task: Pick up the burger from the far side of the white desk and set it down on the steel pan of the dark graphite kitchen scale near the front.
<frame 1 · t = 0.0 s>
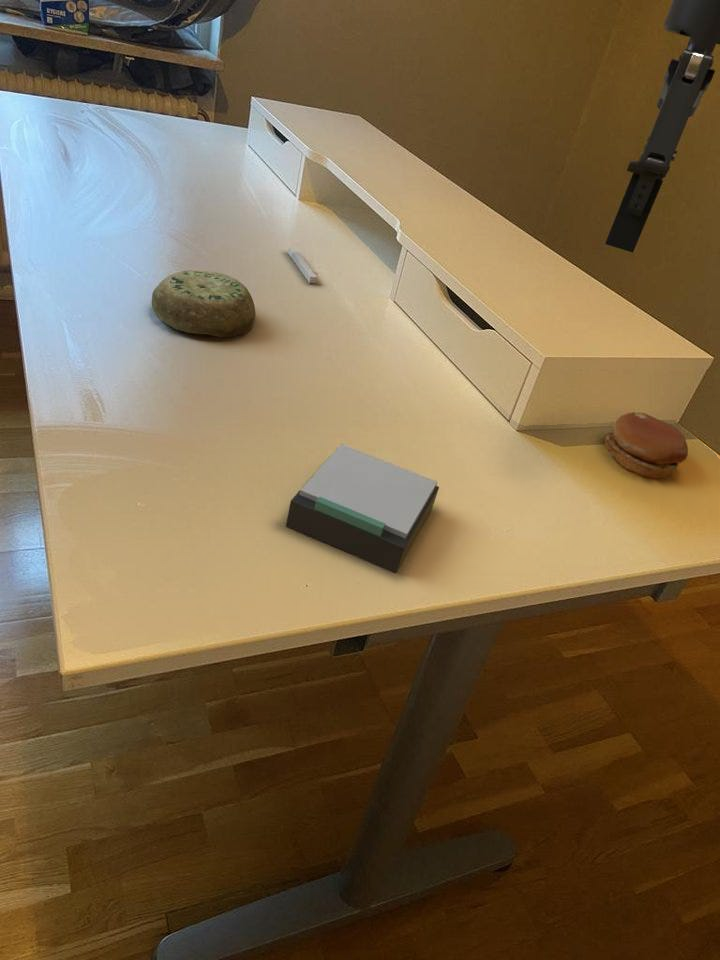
hand: (624, 233, 76), 26 cm above the table, tool pointing down, fingers open, 13 cm apart
light grey bar: (301, 269, 122), on the table
scale: (362, 518, 71), on the table
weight: (203, 320, 99), on the table
burger: (637, 458, 93), on the table
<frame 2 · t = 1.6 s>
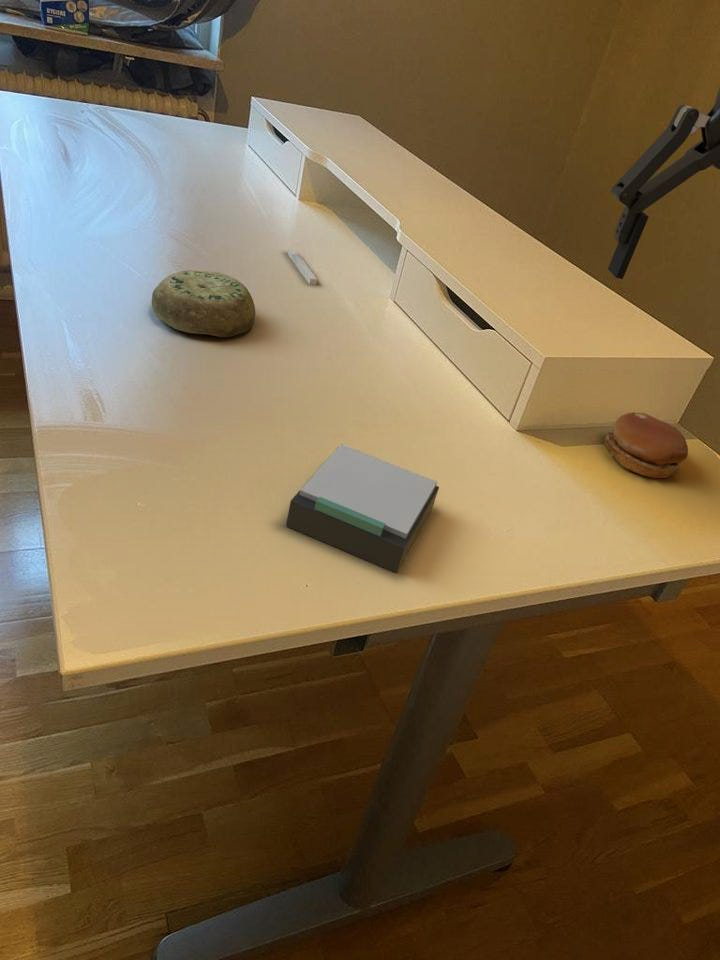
hand: (673, 285, 79), 22 cm above the table, tool pointing down, fingers open, 13 cm apart
nothing on the table moved.
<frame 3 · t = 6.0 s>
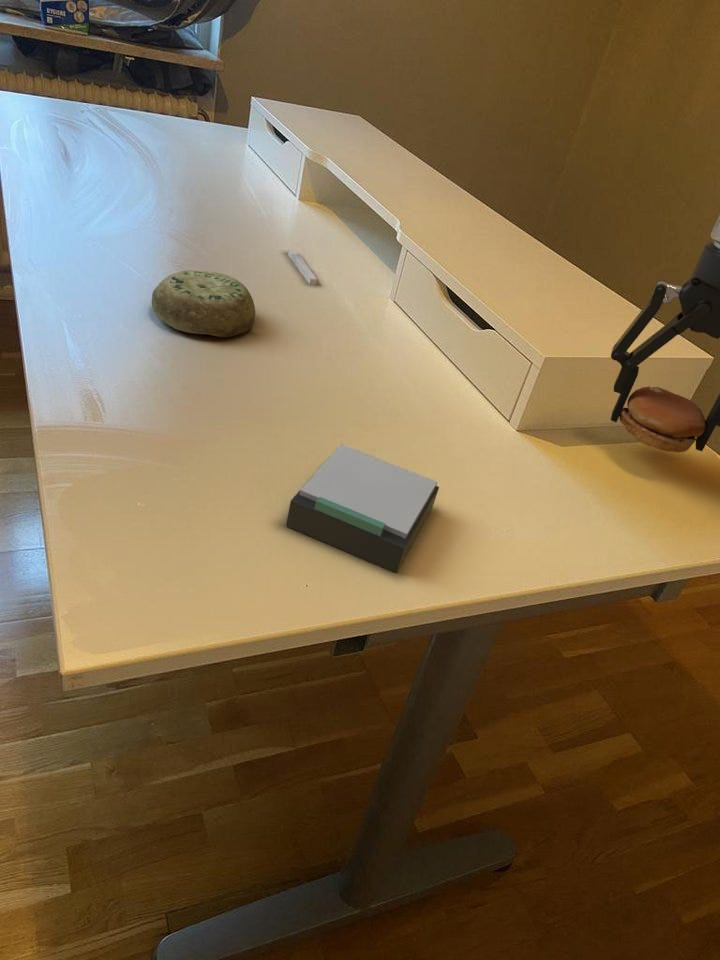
hand: (656, 431, 90), 4 cm above the table, tool pointing down, fingers closed on burger, 10 cm apart
burger: (653, 434, 90), point 4 cm above the table, touching gripper
everything else where it was.
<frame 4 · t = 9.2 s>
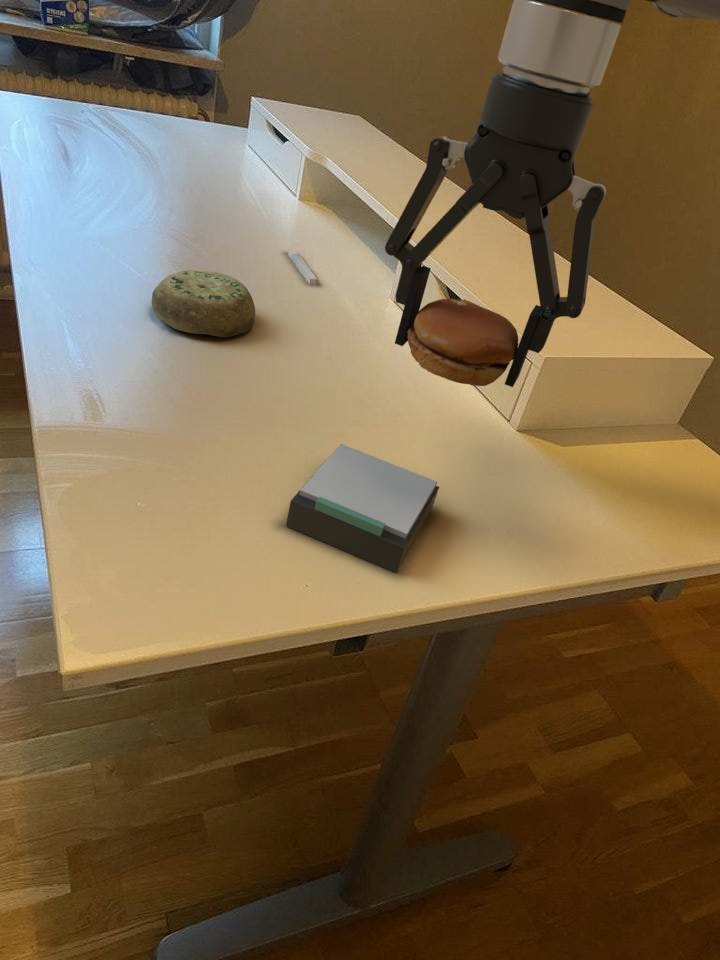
hand: (456, 359, 65), 16 cm above the table, tool pointing down, fingers closed on burger, 10 cm apart
burger: (454, 363, 66), point 16 cm above the table, touching gripper
everything else where it was.
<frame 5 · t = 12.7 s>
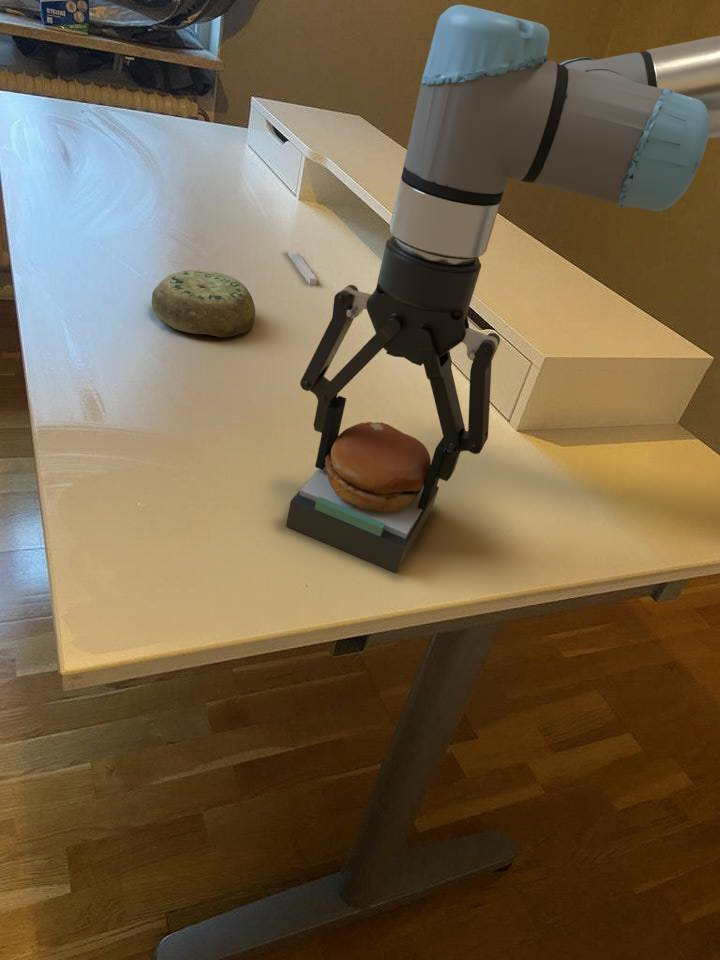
hand: (374, 481, 69), 4 cm above the table, tool pointing down, fingers closed on burger, 10 cm apart
burger: (372, 484, 69), point 4 cm above the table, touching gripper
everything else where it was.
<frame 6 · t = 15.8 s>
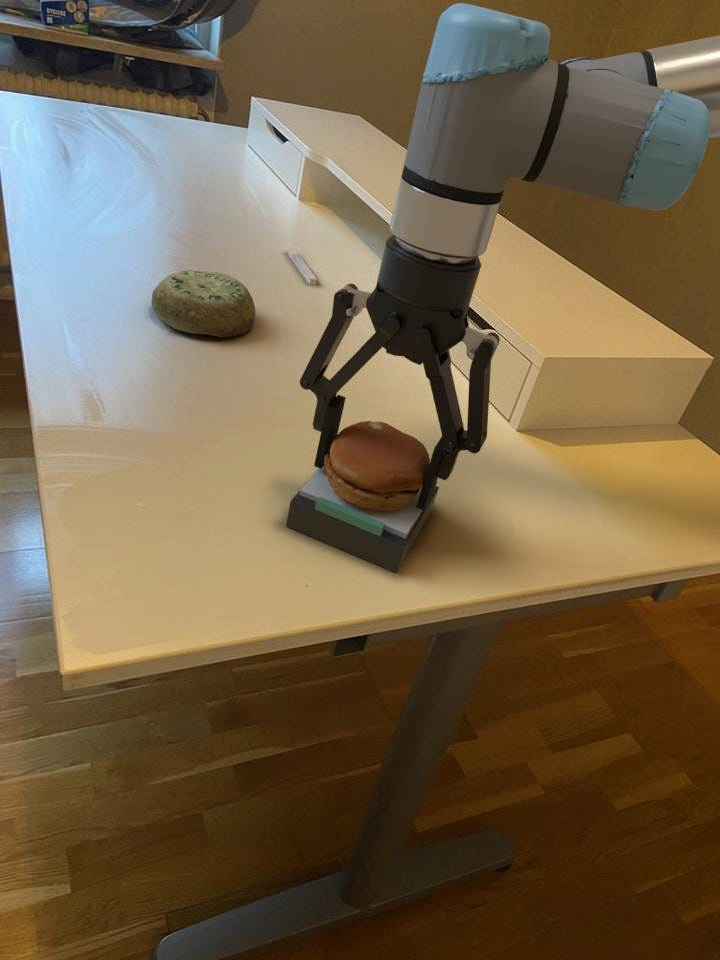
hand: (373, 480, 69), 4 cm above the table, tool pointing down, fingers closed on burger, 9 cm apart
burger: (371, 483, 69), point 4 cm above the table, touching gripper
everything else where it was.
when the fingers open (4 cm above the table, at t = 18.3 s): burger stays where it is, resting on scale.
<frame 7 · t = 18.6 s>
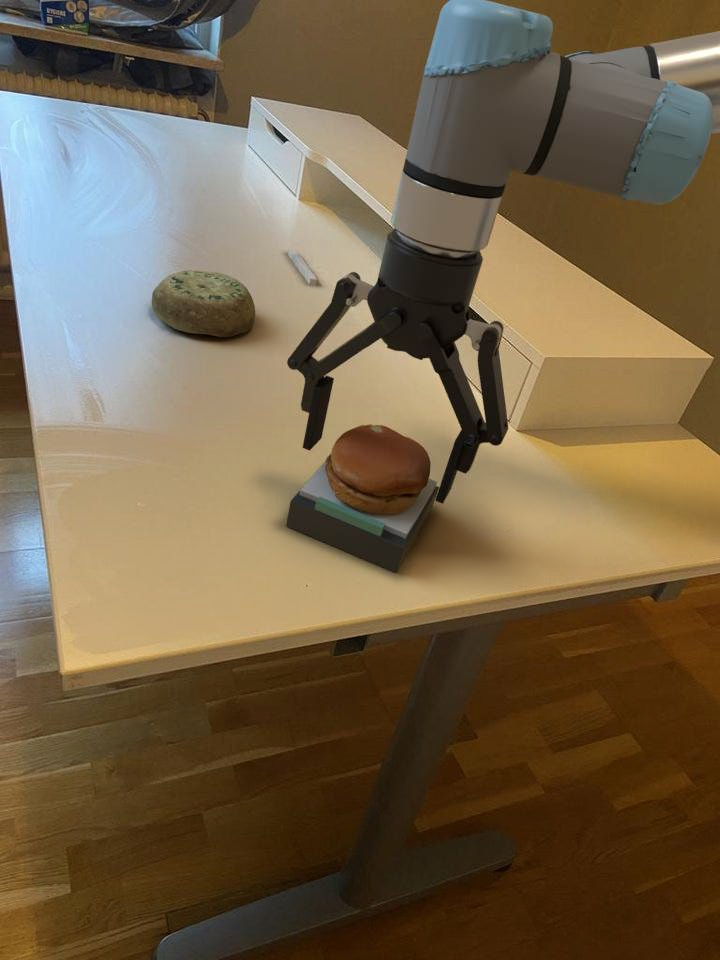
hand: (376, 468, 68), 6 cm above the table, tool pointing down, fingers open, 12 cm apart
burger: (372, 486, 69), point 3 cm above the table, touching scale
everything else where it was.
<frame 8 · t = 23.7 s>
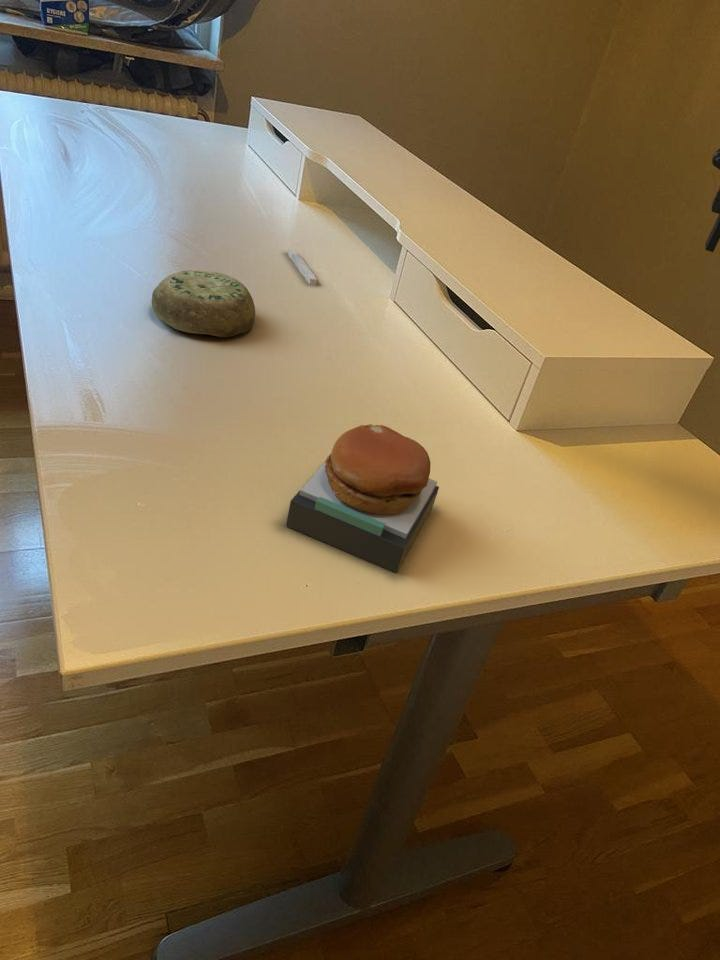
nothing on the table moved.
at the end: burger inside the target area on the scale (0.4 cm from its centre), point 3.4 cm above the scale's base; burger touching scale; the gripper is holding nothing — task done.
